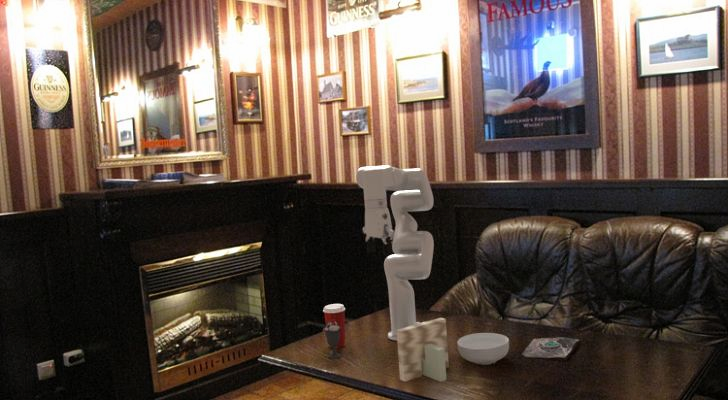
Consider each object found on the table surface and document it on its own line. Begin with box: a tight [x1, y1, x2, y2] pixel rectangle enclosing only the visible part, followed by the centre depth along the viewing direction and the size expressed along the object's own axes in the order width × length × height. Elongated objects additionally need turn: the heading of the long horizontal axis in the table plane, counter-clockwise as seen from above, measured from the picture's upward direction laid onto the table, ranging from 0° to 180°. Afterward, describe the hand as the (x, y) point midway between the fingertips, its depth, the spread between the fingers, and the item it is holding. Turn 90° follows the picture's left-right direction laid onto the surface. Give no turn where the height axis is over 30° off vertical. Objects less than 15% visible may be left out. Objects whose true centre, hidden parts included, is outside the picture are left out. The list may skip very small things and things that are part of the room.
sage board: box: [421, 344, 447, 382], centre depth 209 cm, size 2×18×10 cm, turn 34°
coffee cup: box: [322, 303, 346, 349], centre depth 244 cm, size 8×8×15 cm
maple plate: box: [396, 317, 450, 382], centre depth 209 cm, size 18×2×16 cm, turn 124°
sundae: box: [322, 316, 342, 360], centre depth 232 cm, size 7×7×15 cm
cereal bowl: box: [456, 332, 510, 366], centre depth 216 cm, size 17×17×7 cm
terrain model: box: [521, 336, 581, 362], centre depth 223 cm, size 20×15×3 cm
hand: (379, 253), depth 225 cm, fingers open, 9 cm apart
